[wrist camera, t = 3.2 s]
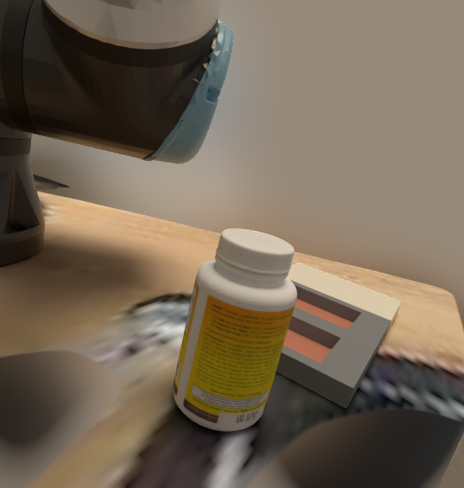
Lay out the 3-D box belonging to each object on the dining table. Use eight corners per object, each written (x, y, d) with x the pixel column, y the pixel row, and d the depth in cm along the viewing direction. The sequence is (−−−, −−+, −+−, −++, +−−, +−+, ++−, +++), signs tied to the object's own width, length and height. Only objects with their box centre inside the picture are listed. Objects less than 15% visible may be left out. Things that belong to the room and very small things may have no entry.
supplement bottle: (281, 425, 22) (332, 261, 19) (194, 447, 19) (240, 257, 16) (234, 368, 26) (270, 226, 23) (157, 378, 23) (189, 219, 20)
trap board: (346, 408, 24) (353, 388, 24) (192, 327, 30) (196, 309, 29) (397, 314, 42) (401, 301, 42) (295, 273, 48) (298, 262, 47)
